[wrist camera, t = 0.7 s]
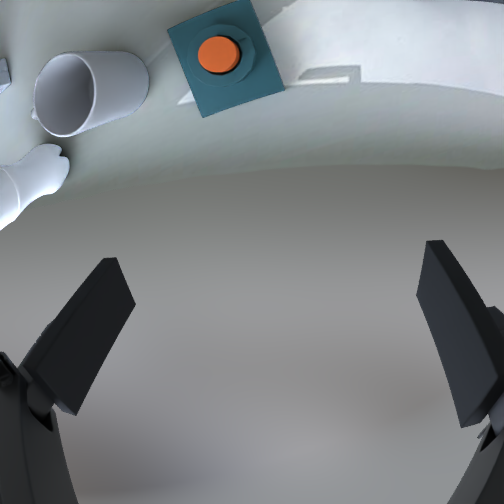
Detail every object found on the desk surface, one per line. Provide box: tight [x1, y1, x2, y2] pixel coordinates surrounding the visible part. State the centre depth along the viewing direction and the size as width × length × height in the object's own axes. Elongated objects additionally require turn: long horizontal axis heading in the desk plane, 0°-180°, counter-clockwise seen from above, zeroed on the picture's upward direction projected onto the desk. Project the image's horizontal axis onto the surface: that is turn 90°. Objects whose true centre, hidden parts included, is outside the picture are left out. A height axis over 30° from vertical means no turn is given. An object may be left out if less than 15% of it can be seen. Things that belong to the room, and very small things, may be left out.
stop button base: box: [167, 0, 285, 118], centre depth 27 cm, size 11×9×4 cm
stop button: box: [198, 36, 240, 72], centre depth 25 cm, size 4×4×2 cm
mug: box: [31, 51, 149, 137], centre depth 26 cm, size 12×8×11 cm
